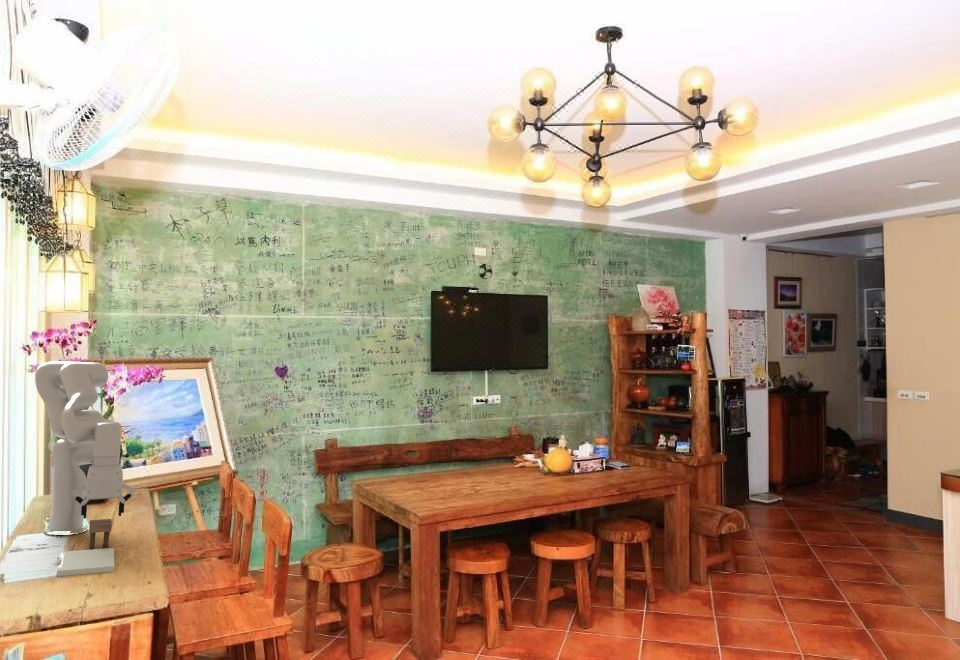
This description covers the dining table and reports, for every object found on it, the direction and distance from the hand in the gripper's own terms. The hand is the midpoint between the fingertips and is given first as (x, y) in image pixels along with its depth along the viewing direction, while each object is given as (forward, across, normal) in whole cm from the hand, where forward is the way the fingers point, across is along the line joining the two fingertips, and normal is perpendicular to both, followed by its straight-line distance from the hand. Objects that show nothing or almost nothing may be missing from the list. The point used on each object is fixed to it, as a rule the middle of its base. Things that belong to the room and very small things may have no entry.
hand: (102, 516), depth 214 cm
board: (+10, -4, -15) cm, 18 cm away
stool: (+10, 0, +1) cm, 10 cm away
